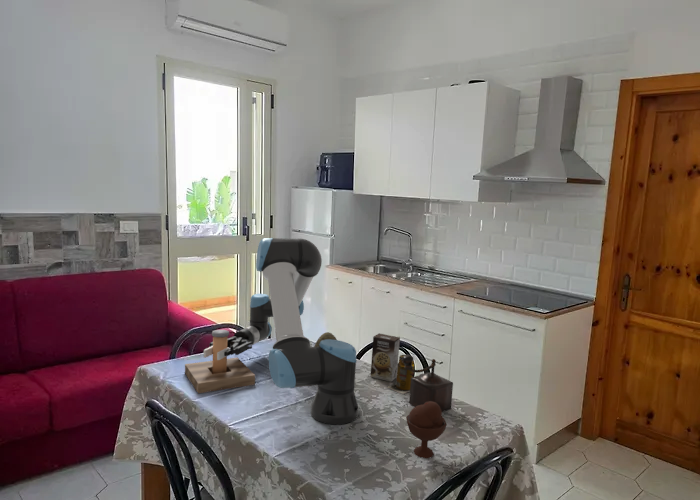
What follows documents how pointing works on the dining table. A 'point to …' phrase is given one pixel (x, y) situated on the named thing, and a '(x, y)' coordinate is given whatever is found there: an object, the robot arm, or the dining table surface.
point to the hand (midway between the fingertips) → (211, 355)
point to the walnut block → (219, 376)
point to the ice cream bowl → (426, 426)
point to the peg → (219, 345)
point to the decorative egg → (324, 337)
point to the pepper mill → (428, 386)
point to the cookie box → (385, 357)
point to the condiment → (402, 378)
